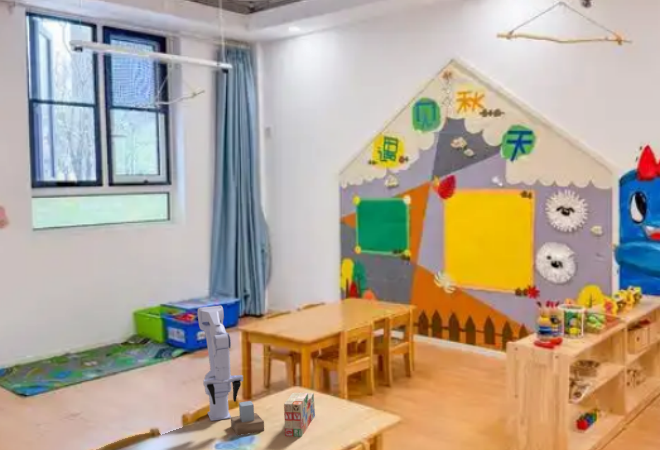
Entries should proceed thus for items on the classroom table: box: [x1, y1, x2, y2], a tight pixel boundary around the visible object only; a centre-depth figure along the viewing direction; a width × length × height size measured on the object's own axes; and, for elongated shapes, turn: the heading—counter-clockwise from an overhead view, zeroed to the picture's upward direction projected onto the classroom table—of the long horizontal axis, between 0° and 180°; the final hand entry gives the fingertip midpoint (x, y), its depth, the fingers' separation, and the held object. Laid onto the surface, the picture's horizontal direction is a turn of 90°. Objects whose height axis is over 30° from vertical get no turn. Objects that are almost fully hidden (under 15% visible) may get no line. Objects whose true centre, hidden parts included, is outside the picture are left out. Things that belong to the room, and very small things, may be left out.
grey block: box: [238, 400, 255, 422], centre depth 252 cm, size 5×5×6 cm
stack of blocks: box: [283, 392, 316, 438], centre depth 253 cm, size 21×6×12 cm, turn 168°
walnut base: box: [230, 412, 265, 436], centre depth 253 cm, size 10×10×4 cm
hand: (224, 402), depth 252 cm, fingers open, 7 cm apart
